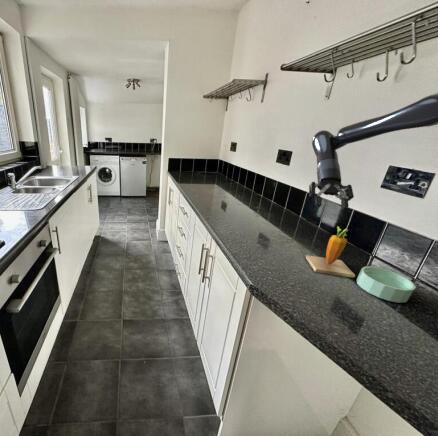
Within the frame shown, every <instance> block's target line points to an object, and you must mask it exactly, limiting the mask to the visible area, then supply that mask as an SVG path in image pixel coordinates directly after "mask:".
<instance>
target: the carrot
mask: <svg viewBox="0 0 438 436" xmlns="http://www.w3.org/2000/svg"><path fill="white" fill-rule="evenodd" d="M336 229H337V231H336V232H337V233H336V234H333V235H331V237H330V238H329V240H328V243H327V245H326V251H325V258H326V259H327V263H328V264H332V263H333V262H335V261H336V260H338V259H339V257H340V256H341V254H342V253H343V251H344V249H345V247H346V245H347V243H348V239H347V238H346V237H347V236H348V234H346V233H347V232H348V231H349V229H348V228H345V229H343V230H342V229H341V228H340V226H336Z"/></svg>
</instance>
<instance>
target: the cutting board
mask: <svg viewBox="0 0 438 436" xmlns="http://www.w3.org/2000/svg"><path fill="white" fill-rule="evenodd" d="M305 259H306V261H307V263H308V264H309V265H310V267H311V268H312V269H313V271H314V272H315V273H321V274H327V275H334V276H339V277H344V278H345V277H346V278H352V279H354V278H355V277H356V274H355V273H354V272H353V271H352V270H351V269H350V268H349V267H348V266H347V264H345V263H344V261H343V260H341V259H337V260H336V261H335V262H333V263H332V264H328V263H327V259H326V257H323V256H322V257H321V256H314V255H309V254H306V255H305Z"/></svg>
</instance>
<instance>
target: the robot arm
mask: <svg viewBox="0 0 438 436" xmlns="http://www.w3.org/2000/svg"><path fill="white" fill-rule="evenodd" d="M437 124H438V92H436V93H433V94H429V95H427V96H425V97H423V98H421V99H419V100H417V101H415V102H412V103H411V104H409V105H406V106H404V107H402V108H399V109H397V110H395V111H392V112H389V113H386V114H384V115H381V116H377V117H373V118H369V119H365V120H362V121H358V122H355V123H352V124H349V125H346V126H343V127H341V128H339V130H338V131H337V134H336V135H334V134H333V133H332V132H330V131H328V130H323V129H322V130H319V131H318V132H316V133H315V134H314V135H313V137H312V140H311V146H312V149H313V152H314V155H315V157H316V176H317V183H316V182H315V181H311V183H310V184H309V185H308V197H309V198H313V199H314V205H315V206H316V208H321V206H322V205H323V204H322V195H325V196H333V197H334V196H335V198H337V199H339V200H340V206H341V210H342V211H345V210H346V209H348V208H349V201H351V200H352V199H354V197H355V195H354V191H353V187H352V184H347V185H343V183H342V175H341V166H340V163H339V154H338V152H337V150H339V149H341V148H343V147H345V146H346V145H350V144H352V143H353V144H354V143H356V142H361V141H364V140H368V139H371V138H374V137H378V136H382V135H384V134H388V133H393V132H397V131H402V130H403V131H404V130H410V129H418V128H428V127H434V126H435V125H437ZM316 188H317V189H318V190H319V192H318V193H317V192H316Z"/></svg>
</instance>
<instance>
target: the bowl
mask: <svg viewBox="0 0 438 436" xmlns="http://www.w3.org/2000/svg"><path fill="white" fill-rule="evenodd" d="M356 284H357V285H358V286H359V287H360V288H361V289H362V290H364V291H365V292H367V293H368V294H370V295H373V296H374V297H377V298H379V299H382V300H385V301H387V302H393V303H399V304H401V303H407V302H408V301H409V300H410V298H411V297H412V295H413V294H414V292H415V290H416V288H417V286H416V285H415V283H414V282H413V281H412V280H410V279H409V278H408V277H405V276H404V275H402V274H400V273H398V272H395V271H392V270H390V269H386V268H382V267H379V266H374V265H373V266H372V265H369V266H366V265H365V266H363V267H362V268H361V269H360V271H359V273H358V275H357V278H356Z"/></svg>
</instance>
